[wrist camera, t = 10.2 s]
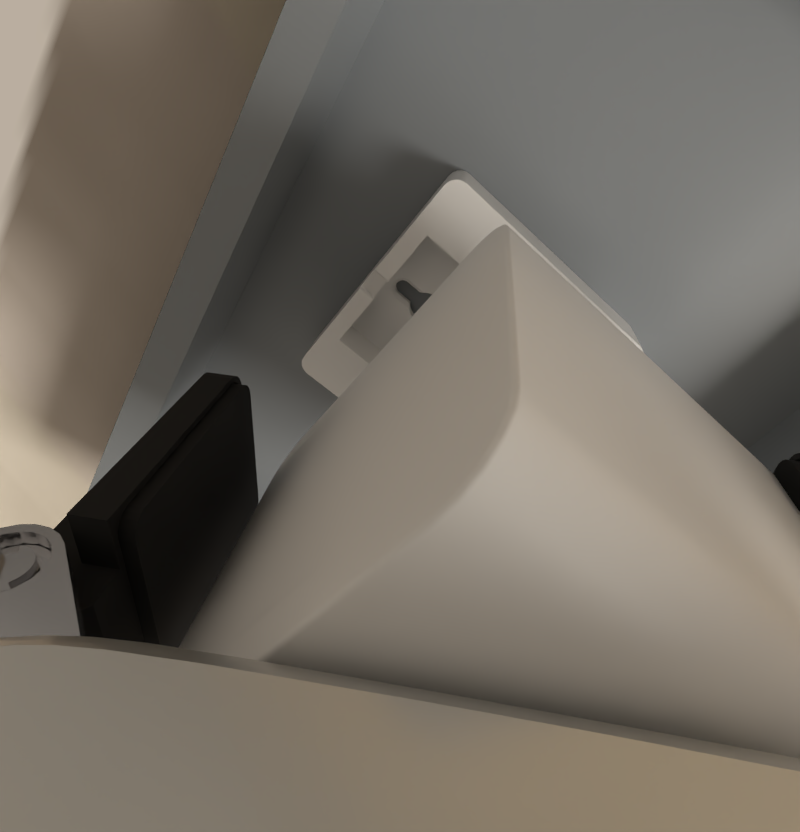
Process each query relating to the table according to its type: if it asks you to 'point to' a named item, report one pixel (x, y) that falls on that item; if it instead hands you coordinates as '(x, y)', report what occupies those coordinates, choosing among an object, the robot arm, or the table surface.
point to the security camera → (518, 507)
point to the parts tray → (505, 192)
